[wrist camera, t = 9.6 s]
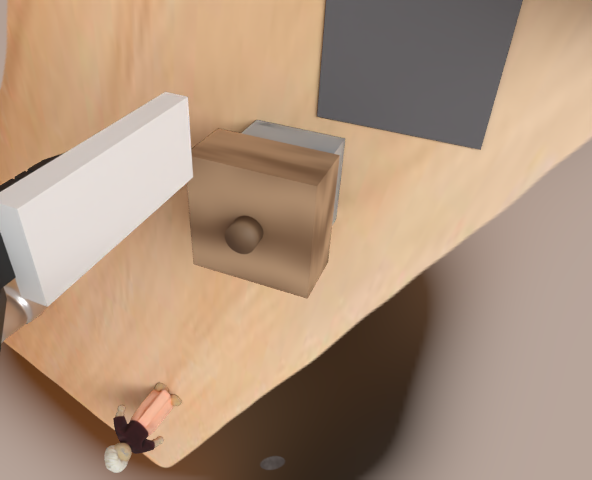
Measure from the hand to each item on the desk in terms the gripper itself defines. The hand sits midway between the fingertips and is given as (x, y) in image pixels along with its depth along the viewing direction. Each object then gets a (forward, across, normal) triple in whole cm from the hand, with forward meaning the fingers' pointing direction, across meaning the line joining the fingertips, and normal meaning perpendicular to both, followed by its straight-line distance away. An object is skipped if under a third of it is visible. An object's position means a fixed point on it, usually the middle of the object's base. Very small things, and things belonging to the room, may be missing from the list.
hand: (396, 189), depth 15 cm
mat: (+26, -4, -4) cm, 27 cm away
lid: (+21, -12, -16) cm, 29 cm away
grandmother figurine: (+26, -29, -56) cm, 68 cm away
